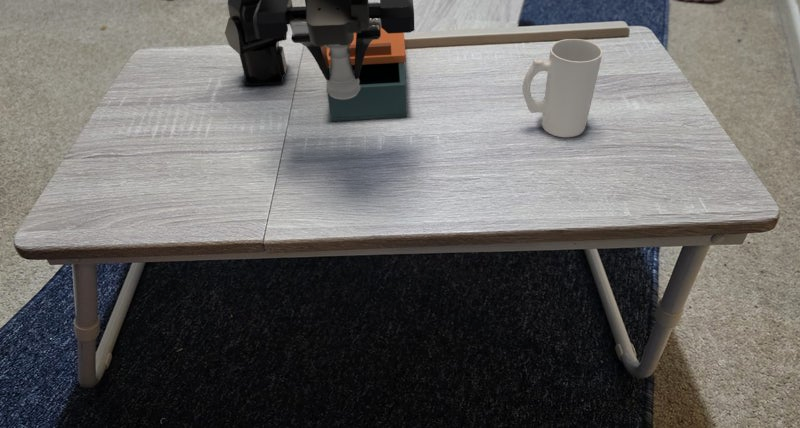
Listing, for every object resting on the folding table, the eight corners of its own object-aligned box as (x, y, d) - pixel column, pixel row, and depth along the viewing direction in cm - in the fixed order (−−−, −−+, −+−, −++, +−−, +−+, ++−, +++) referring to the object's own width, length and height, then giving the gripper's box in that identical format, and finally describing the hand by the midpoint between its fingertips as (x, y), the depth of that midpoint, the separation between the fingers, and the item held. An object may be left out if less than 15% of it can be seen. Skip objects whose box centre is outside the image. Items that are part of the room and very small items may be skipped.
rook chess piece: (357, 81, 78) (352, 24, 73) (363, 98, 75) (358, 40, 69) (325, 85, 77) (317, 29, 72) (329, 103, 74) (322, 45, 69)
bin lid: (405, 62, 90) (405, 46, 88) (326, 66, 90) (324, 50, 88) (401, 9, 105) (400, -6, 103) (333, 13, 105) (331, -2, 103)
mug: (579, 111, 87) (594, 37, 79) (592, 137, 82) (609, 60, 74) (513, 116, 87) (521, 41, 79) (522, 141, 82) (531, 65, 74)
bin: (406, 117, 88) (405, 84, 85) (331, 121, 88) (326, 89, 85) (402, 59, 102) (400, 29, 98) (336, 63, 102) (332, 33, 98)
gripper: (231, -15, 58) (261, 116, 69) (415, -23, 58) (417, 109, 69) (249, -53, 66) (273, 69, 77) (411, -60, 66) (413, 63, 77)
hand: (342, 78), depth 75 cm, fingers closed on rook chess piece, 3 cm apart
